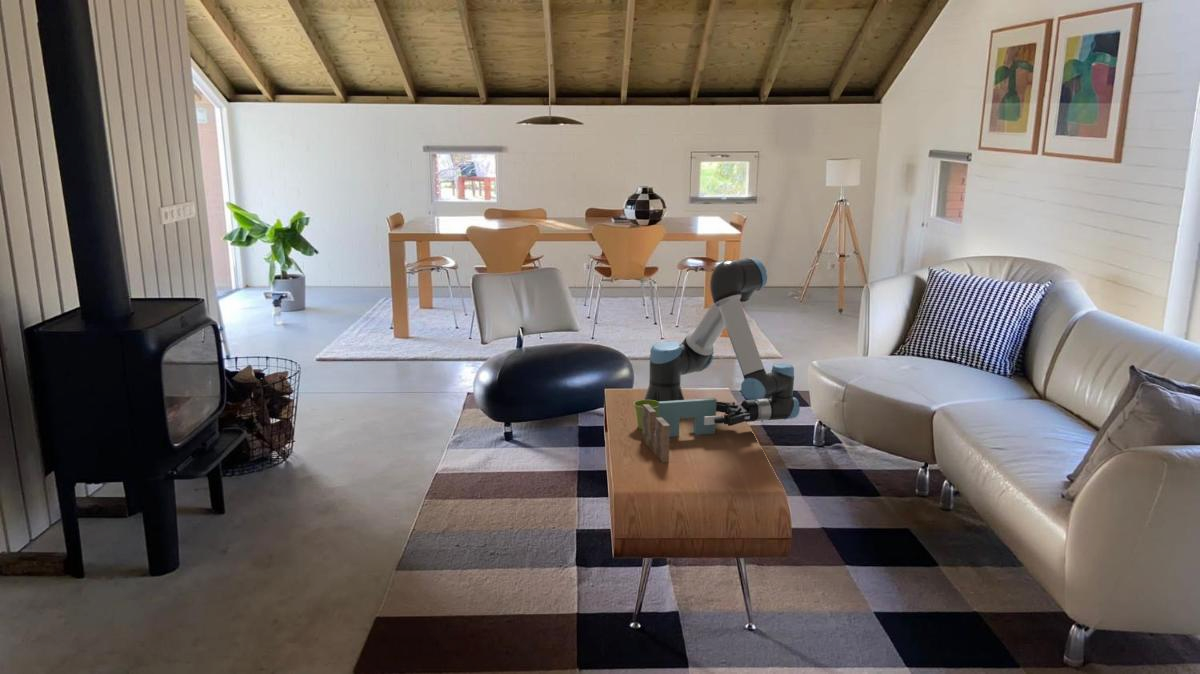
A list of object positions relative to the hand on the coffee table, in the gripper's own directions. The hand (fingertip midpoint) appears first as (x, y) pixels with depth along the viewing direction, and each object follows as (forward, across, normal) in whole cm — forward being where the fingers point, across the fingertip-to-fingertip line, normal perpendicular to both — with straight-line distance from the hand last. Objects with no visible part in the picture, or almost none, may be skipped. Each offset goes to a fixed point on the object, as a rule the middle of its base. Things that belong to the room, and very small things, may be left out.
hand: (696, 414), depth 284 cm
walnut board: (+18, -12, -7) cm, 23 cm away
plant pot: (+14, +10, -7) cm, 19 cm away
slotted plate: (+4, 0, -7) cm, 8 cm away
